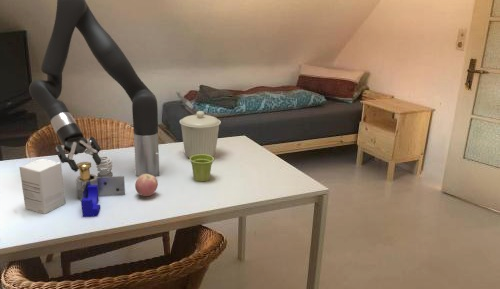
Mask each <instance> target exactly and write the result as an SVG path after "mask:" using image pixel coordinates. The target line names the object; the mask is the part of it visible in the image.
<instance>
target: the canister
mask: <svg viewBox="0 0 500 289" xmlns="http://www.w3.org/2000/svg"><path fill="white" fill-rule="evenodd" d="M221 122H222V121H221V120H220V119H218V118H217V117H216V116H213V115H209V114H205V112H204V111H202V110H198V111H196V113H195V114H193V115H187V116H185V117H183V118H181V119H179V124H180V128H181V135H182V142H183V150H184V154H185V155H186V157H187V158H189V159H190V157H191V156H194V155H199V154H204V155H210V156H212V157H213V158H214V156H215V153H216V150H217V145H218V139H219V138H218V136H219V130H220V129H219V126H220V125H221Z"/></svg>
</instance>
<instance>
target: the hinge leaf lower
mask: <svg viewBox="0 0 500 289" xmlns="http://www.w3.org/2000/svg"><path fill="white" fill-rule="evenodd" d="M76 192H77V193H76V194H77V199H78V200H80V201H81V200H82V199H86V198H88V189H87V182H86V181H85V182H84V184H83V187H82V190H81V191H80V190H77V189H76ZM98 196H99V195H98ZM99 197H100V196H99ZM80 205H81V207H82V203H80Z"/></svg>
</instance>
